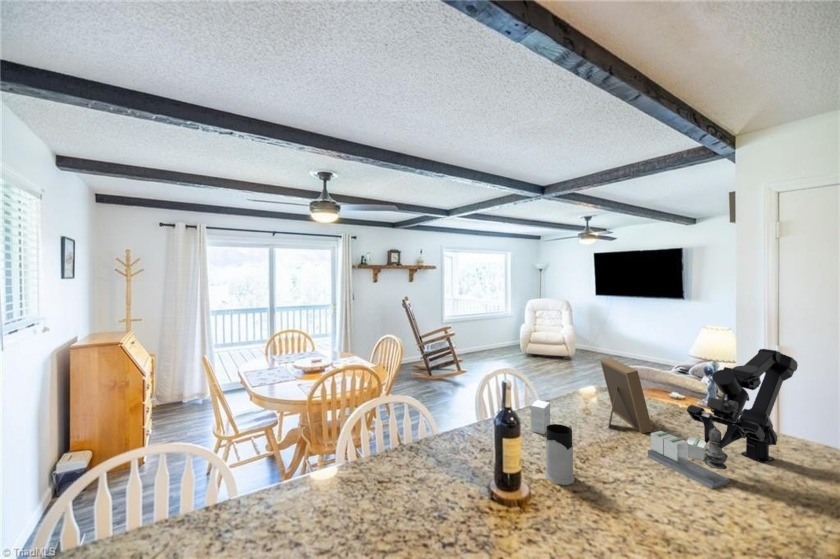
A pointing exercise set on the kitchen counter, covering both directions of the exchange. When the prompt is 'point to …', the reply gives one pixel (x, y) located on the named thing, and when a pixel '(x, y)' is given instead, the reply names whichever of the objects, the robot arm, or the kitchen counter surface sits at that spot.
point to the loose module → (696, 448)
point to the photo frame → (626, 394)
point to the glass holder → (559, 454)
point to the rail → (699, 470)
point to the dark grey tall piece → (715, 451)
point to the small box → (540, 416)
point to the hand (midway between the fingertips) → (713, 444)
